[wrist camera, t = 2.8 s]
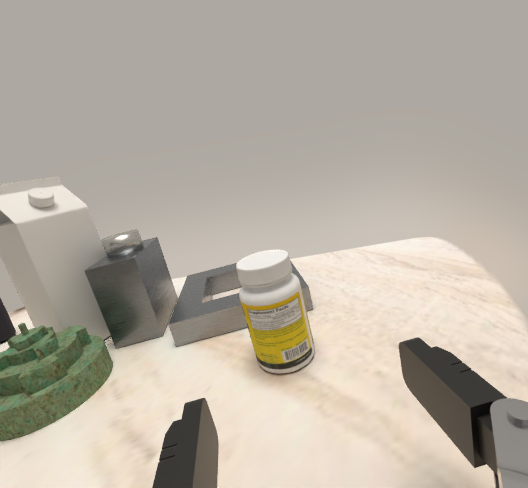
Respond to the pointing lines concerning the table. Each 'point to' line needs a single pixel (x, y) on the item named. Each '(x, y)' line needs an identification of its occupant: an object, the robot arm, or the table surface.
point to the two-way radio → (5, 324)
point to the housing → (163, 295)
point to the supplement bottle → (275, 311)
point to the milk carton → (51, 253)
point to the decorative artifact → (48, 376)
